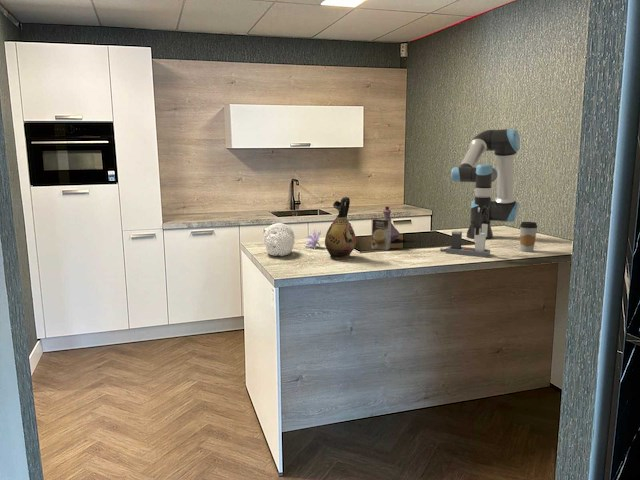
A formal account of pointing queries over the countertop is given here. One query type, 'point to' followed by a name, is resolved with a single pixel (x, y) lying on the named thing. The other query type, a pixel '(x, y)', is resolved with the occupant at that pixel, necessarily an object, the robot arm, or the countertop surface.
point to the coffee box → (381, 233)
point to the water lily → (313, 239)
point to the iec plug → (481, 243)
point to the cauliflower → (279, 239)
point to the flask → (393, 230)
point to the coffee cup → (527, 236)
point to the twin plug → (456, 240)
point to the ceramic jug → (340, 233)
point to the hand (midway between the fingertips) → (480, 238)
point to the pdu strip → (466, 252)
